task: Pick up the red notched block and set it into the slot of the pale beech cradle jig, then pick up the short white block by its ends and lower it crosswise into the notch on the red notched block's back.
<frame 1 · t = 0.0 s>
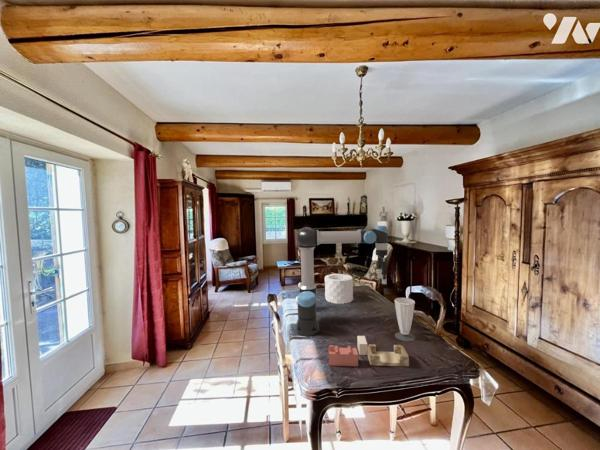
hand: (381, 281, 173), 28 cm above the table, fingers open, 13 cm apart
cup: (404, 337, 154), on the table
potted plant: (303, 309, 201), on the table
red notched block: (343, 362, 130), on the table
white block: (362, 350, 140), on the table
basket: (338, 298, 224), on the table
cradle: (387, 359, 131), on the table
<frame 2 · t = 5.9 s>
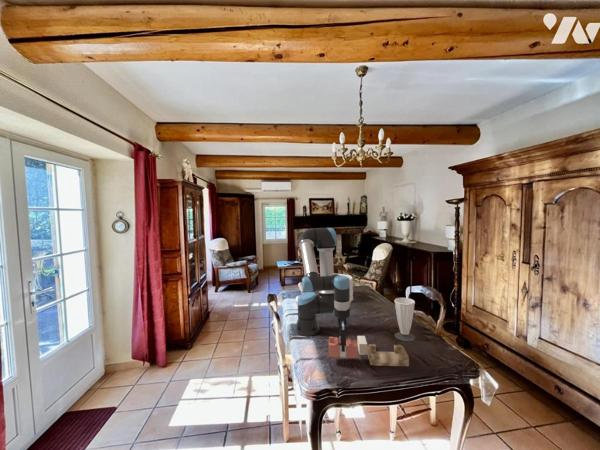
hand: (342, 352, 131), 4 cm above the table, fingers closed on red notched block, 6 cm apart
red notched block: (342, 353, 131), point 4 cm above the table, touching gripper
everything else where it was.
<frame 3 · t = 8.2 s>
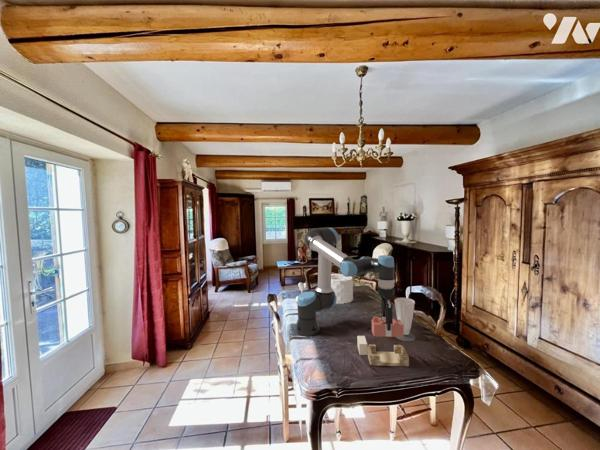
hand: (386, 332, 130), 14 cm above the table, fingers closed on red notched block, 6 cm apart
red notched block: (387, 333, 130), point 13 cm above the table, touching gripper
everything else where it was.
when the fingers open (2 cm above the table, at t = 10.6 s): red notched block stays where it is, resting on cradle.
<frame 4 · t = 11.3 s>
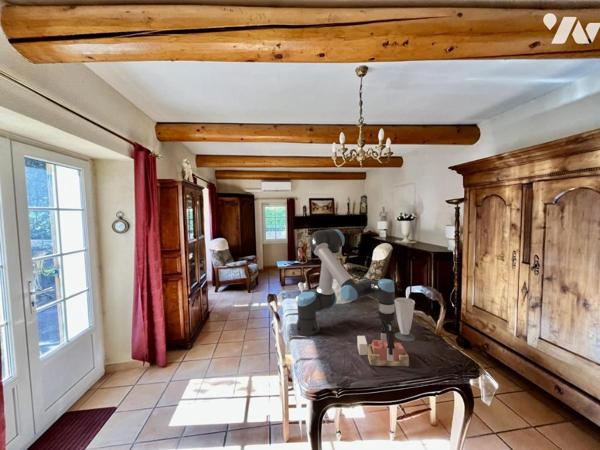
hand: (386, 352, 131), 4 cm above the table, fingers open, 13 cm apart
red notched block: (387, 357, 131), point 1 cm above the table, touching cradle
everything else where it was.
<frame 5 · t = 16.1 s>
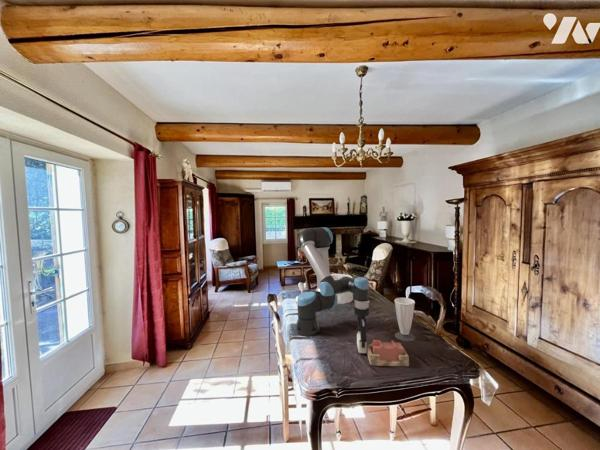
hand: (361, 347, 141), 1 cm above the table, fingers closed on white block, 9 cm apart
white block: (361, 348, 141), point 1 cm above the table, touching gripper
everything else where it was.
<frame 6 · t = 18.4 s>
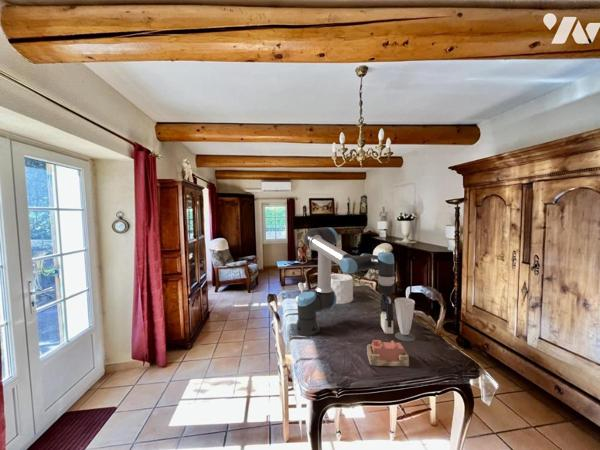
hand: (386, 328, 130), 16 cm above the table, fingers closed on white block, 9 cm apart
white block: (386, 329, 130), point 16 cm above the table, touching gripper
everything else where it was.
when the fingers open (8 cm above the table, at t = 20.6 s): white block stays where it is, resting on red notched block.
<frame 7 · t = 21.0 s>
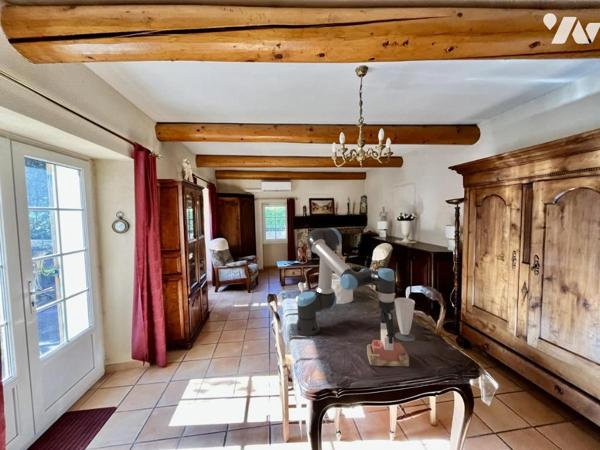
hand: (386, 342, 130), 9 cm above the table, fingers open, 13 cm apart
red notched block: (387, 357, 131), point 1 cm above the table, touching cradle, white block
white block: (386, 345, 131), point 7 cm above the table, touching red notched block
everything else where it was.
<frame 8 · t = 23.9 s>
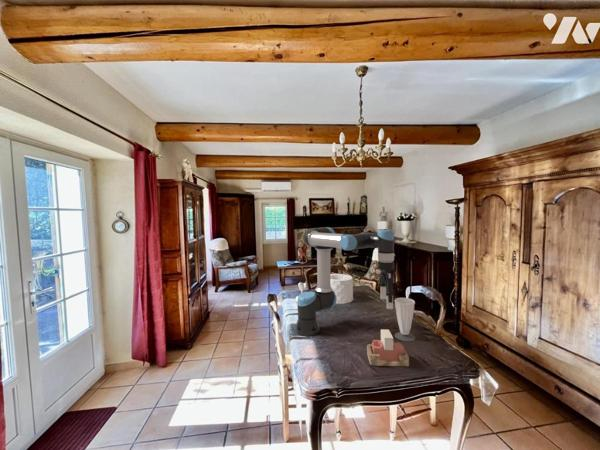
hand: (386, 303, 129), 29 cm above the table, fingers open, 13 cm apart
nothing on the table moved.
at the end: red notched block 0.2 cm off-centre on the cradle, point 1.5 cm above the cradle's base; white block 0.2 cm off-centre on the red notched block, point 6.0 cm above the red notched block's base; white block tilted 0° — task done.
